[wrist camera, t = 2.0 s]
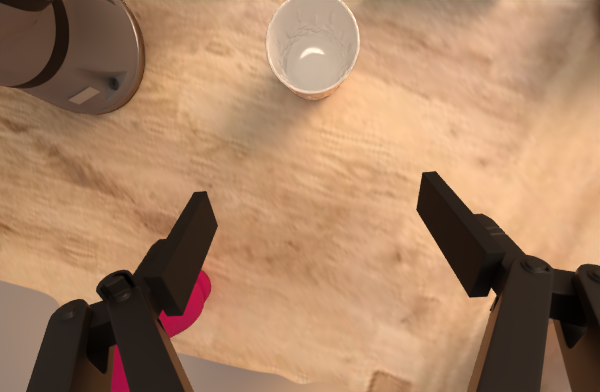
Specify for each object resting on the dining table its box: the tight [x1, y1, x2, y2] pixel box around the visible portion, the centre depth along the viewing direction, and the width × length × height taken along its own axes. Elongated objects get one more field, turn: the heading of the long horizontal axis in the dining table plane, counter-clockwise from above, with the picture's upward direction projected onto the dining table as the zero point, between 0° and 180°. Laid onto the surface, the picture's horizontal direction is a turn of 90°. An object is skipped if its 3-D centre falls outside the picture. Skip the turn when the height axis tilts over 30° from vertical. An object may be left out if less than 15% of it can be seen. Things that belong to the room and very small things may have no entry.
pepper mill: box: [111, 270, 211, 392], centre depth 30 cm, size 7×7×20 cm
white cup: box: [266, 0, 360, 100], centre depth 28 cm, size 8×8×10 cm
